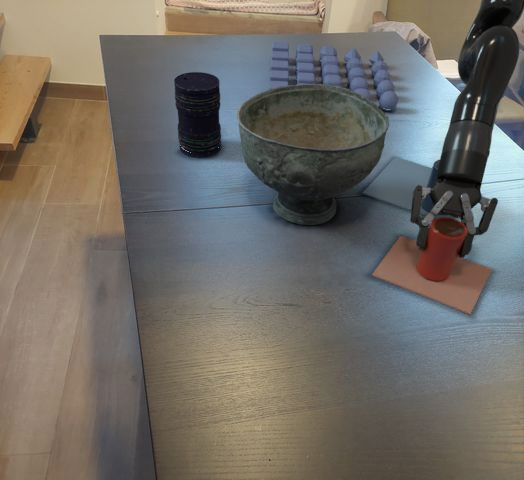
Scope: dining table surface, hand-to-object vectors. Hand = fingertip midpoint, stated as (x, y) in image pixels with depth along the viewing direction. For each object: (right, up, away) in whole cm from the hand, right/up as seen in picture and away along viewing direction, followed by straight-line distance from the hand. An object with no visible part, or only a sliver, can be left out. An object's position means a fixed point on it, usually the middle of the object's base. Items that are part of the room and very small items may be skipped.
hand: (441, 253), depth 88 cm
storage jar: (-45, +31, +33) cm, 64 cm away
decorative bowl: (-22, +13, +18) cm, 31 cm away
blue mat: (+4, +19, +25) cm, 31 cm away
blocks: (-11, +60, +60) cm, 86 cm away
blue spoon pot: (+6, +13, +19) cm, 24 cm away
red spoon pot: (0, -2, +5) cm, 5 cm away
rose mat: (0, -3, +5) cm, 6 cm away
